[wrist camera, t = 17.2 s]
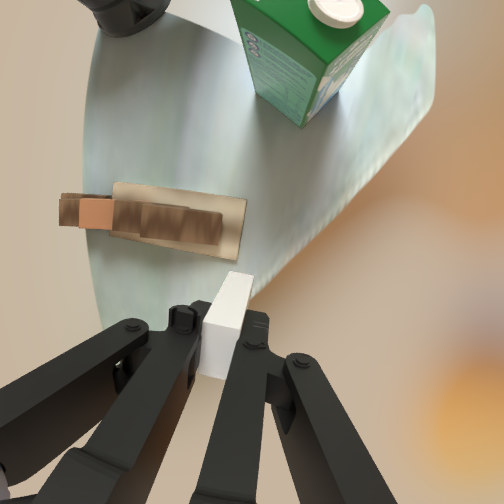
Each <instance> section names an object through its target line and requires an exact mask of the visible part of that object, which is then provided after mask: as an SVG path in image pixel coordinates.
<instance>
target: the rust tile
mask: <svg viewBox="0 0 504 504" xmlns="http://www.w3.org/2000/svg"><path fill="white" fill-rule="evenodd" d="M115 200H116V199H96V198H82V199H80V206H79V228H88V229H108V230H112V222H113V211H114V201H115ZM135 201H139V200H135ZM144 202H149V201H144Z"/></svg>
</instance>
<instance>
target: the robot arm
mask: <svg viewBox="0 0 504 504" xmlns="http://www.w3.org/2000/svg"><path fill="white" fill-rule="evenodd" d="M78 1H79V2H81V3H82V4H83V5H85V6H86V7H88V8H89V9H90V10H91V11H92V12H93V14H94V17H95V18H96V20H97V23H98V26H99V28H100V29H101V30H102V31H103V32H105V33H106V34H107V35H109V36H111V37H125V36H129V35H132V34H135V33H137V32H139V31H141V30H143V29H145V28H146V27H148V26H149V25H151V24H152V23H153V22H154V21H156V20H157V19H158V18H159V17H160V16H161V15H162V14H163V13H164V11H165V10H166V9H167V7H168V5H169V3H170V1H171V0H78ZM253 279H254V276H253V275H248V274H243V273H237V272H232V271H229V273H228V275H227V277H226V279H225V281H224V283H223V284H222V286H221V288H220V290H219V292H218V294H217V296H216V297H215V299H214V301H213V303H209V302H204V301H200V300H198V301H195V302H193V303H192V304H191V305H190V306H188V305H176V306H172V307H171V308H170V309H169V324H168V327H167V329H166V330H165V331H149V326H148V324H147V323H146V322H144V321H143V320H140V319H136V318H135V319H134V318H130V319H124V320H122V321H120V322H118V323H116V324H115V325H113V326H111V327H109V328H107V329H106V330H104V331H102V332H100V333H98V334H97V335H95V336H93V337H91V338H89V339H88V340H86V341H84V342H82V343H81V344H79V345H77V346H75V347H73V348H72V349H70V350H68V351H66V352H65V353H63V354H61V355H59V356H57V357H56V358H54V359H52V360H50V361H49V362H47V363H45V364H43V365H41V366H40V367H38V368H36V369H34V370H33V371H31V372H29V373H27V374H26V375H24V376H22V377H20V378H19V379H17V380H15V381H13V382H11V383H10V384H8V385H6V386H5V387H3V388H1V389H0V504H145V503H146V500H147V498H148V495H149V493H150V491H151V488H152V486H153V483H154V480H155V478H156V475H157V473H158V471H159V468H160V466H161V463H162V461H163V458H164V455H165V453H166V451H167V448H168V446H169V443H170V441H171V438H172V436H173V434H174V431H175V428H176V426H177V424H178V421H179V419H180V416H181V414H182V411H183V409H184V406H185V404H186V402H187V399H188V397H189V394H190V392H191V389H192V387H193V384H194V382H195V373H196V370H197V368H198V374H201V375H205V376H210V377H214V378H219V379H224V380H226V382H225V385H224V389H223V393H222V397H221V400H220V403H219V407H218V411H217V414H216V418H215V422H214V425H213V429H212V433H211V436H210V440H209V443H208V447H207V450H206V454H205V458H204V461H203V465H202V468H201V472H200V475H199V479H198V482H197V486H196V489H195V491H194V493H193V494H192V497H191V500H190V503H189V504H257V503H256V489H257V479H258V471H259V461H260V450H261V440H262V429H263V417H264V406H265V402H267V403H269V404H271V409H272V412H273V416H274V419H275V423H276V426H277V430H278V433H279V436H280V440H281V443H282V446H283V450H284V453H285V456H286V460H287V463H288V466H289V469H290V473H291V475H292V479H293V482H294V485H295V488H296V491H297V495H298V498H299V501H300V504H397V502H396V500H395V498H394V497H393V495H392V493H391V491H390V489H389V488H388V486H387V484H386V482H385V480H384V479H383V477H382V475H381V473H380V471H379V470H378V468H377V466H376V464H375V463H374V461H373V459H372V457H371V455H370V454H369V452H368V450H367V448H366V447H365V445H364V443H363V441H362V440H361V438H360V436H359V434H358V432H357V431H356V429H355V427H354V425H353V424H352V422H351V420H350V418H349V417H348V415H347V413H346V411H345V410H344V408H343V406H342V404H341V402H340V401H339V399H338V397H337V395H336V394H335V392H334V390H333V388H332V387H331V385H330V383H329V381H328V379H327V378H326V376H325V374H324V373H323V371H322V369H321V367H320V365H319V364H318V362H317V361H316V360H315V359H314V358H313V357H311V356H309V355H307V354H304V353H292V354H290V355H288V356H287V357H286V359H285V358H282V357H280V356H277V355H275V354H274V353H272V352H271V351H270V350H269V346H268V329H269V317H268V316H267V314H266V313H263V312H257V311H252V310H248V306H249V301H250V296H251V290H252V285H253ZM119 361H120V364H119V365H117V366H116V364H117V363H118V362H119ZM101 420H102V421H101ZM100 421H101V422H100ZM99 422H100V424H99V425H98V427H97V428H96V430H95V431H94V433H93V434H92V436H91V437H90V439H89V440H88V442H87V443H86V444H85V446H84V447H82V448H76V447H73V448H71V449H69V450H68V451H67V452H66V453H65V454H64V456H63V457H62V459H61V460H60V461H59V463H58V464H57V466H56V467H55V469H54V470H53V472H52V473H51V475H50V476H49V477H48V479H47V481H46V482H45V483H44V485H43V486H42V488H41V489H40V491H39V492H38V494H34V495H29V496H24V497H19V498H12V499H10V492H9V490H8V487H9V486H13V485H16V484H18V483H20V482H23V481H25V480H27V479H28V478H30V477H31V476H33V475H34V474H36V473H37V472H38V471H39V470H41V469H42V468H43V467H45V466H46V465H47V464H48V463H50V462H51V461H52V460H53V459H55V458H56V457H57V456H58V455H60V454H61V453H62V452H63V451H65V450H66V449H67V448H68V447H69V446H71V445H72V444H73V443H74V442H76V441H77V440H78V439H79V438H81V437H82V436H83V435H84V434H85V433H87V432H88V431H89V430H90V429H91V428H93V427H94V426H95V425H96V424H97V423H99Z"/></svg>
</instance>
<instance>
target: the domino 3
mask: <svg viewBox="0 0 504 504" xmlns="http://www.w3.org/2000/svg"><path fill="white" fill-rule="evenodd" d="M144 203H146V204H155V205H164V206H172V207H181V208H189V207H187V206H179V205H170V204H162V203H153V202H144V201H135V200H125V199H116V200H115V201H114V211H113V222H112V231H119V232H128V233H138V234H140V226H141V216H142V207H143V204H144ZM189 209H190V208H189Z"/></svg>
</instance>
